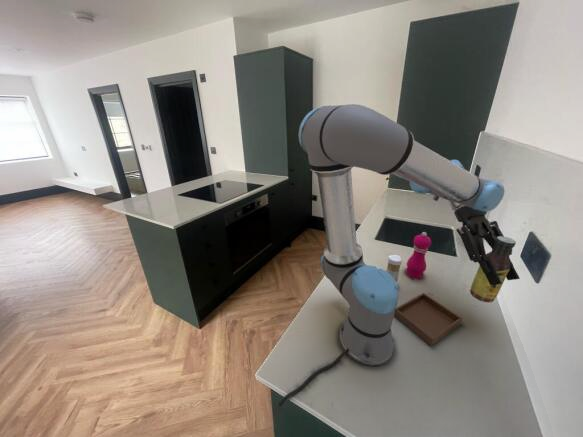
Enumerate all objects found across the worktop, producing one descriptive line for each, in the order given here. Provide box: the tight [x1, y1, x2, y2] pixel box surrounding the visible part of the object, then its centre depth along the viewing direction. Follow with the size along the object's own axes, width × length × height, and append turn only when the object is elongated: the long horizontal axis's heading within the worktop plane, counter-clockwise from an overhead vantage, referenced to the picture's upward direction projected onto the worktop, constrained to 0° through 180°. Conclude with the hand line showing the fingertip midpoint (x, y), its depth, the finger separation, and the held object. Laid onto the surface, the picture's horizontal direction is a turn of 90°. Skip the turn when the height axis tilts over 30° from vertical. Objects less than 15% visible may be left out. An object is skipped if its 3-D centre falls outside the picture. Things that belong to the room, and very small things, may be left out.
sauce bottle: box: [469, 235, 517, 303], centre depth 66 cm, size 7×6×20 cm
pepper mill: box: [405, 231, 432, 280], centre depth 93 cm, size 7×7×20 cm
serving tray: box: [394, 292, 463, 347], centre depth 75 cm, size 15×13×3 cm
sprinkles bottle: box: [385, 254, 403, 284], centre depth 88 cm, size 5×5×13 cm
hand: (504, 281), depth 64 cm, fingers closed on sauce bottle, 6 cm apart
